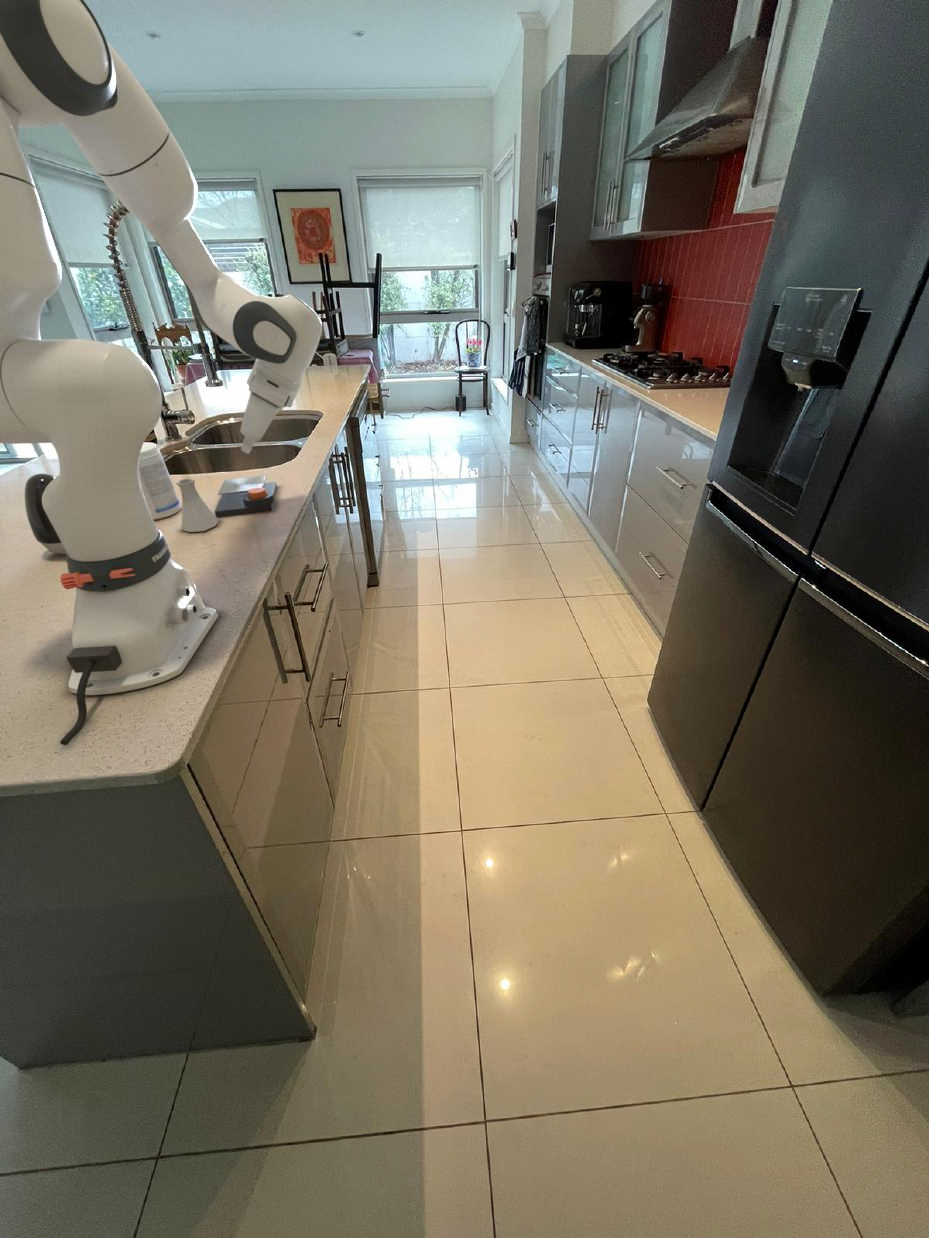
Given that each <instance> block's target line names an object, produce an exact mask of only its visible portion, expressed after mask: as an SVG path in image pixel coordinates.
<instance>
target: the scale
mask: <svg viewBox="0 0 929 1238" xmlns="http://www.w3.org/2000/svg"><path fill="white" fill-rule="evenodd" d="M263 488H264V489H265V491H266V495H267V496H265V497H263V498H259V499H250V496H249V492H244V493H235V494H226V495H220V498H219V501H218V502H217V505H216V508H215V509H214V515H215V516H216V517H217V518H224V517H233V516H240V515H248V514H257V513H266V512H267V513H268V512H273V509H274V503H275V501H276V500H275V499H276V495H277V489H278V485H277V482H276V481H270V482H264V485H263Z"/></svg>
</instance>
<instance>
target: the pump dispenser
mask: <svg viewBox="0 0 929 1238" xmlns="http://www.w3.org/2000/svg"><path fill="white" fill-rule="evenodd" d="M55 478H56V477H55V476H53V475H51V474H48V473H37V474H36V473H35V474H33V475H31V476H29V478H28V479H27V481H26V482H25V486H24V507H25V513H26V517H27V521H28V523H29V527H30V530H31V532H32V534H33V536H34V538H35V540H36V541H37V542H38V543H40V544H41V545H42V546H43V547H44V548H45V549H47V550H48V551H49V552H52V553H55V554H57V555H58V554H59V555H66V553H67V552H66V550H65V548H64V546H63V544H62V543H61V541H60V539H59V537H58V535H57V533H56V531H55V529H54V527H53V526H52V524H51V522H50V520H49V518H48V516H47V514H46V512H45V510H44V509H43V505H42V495H43V492H44V490H45V489H46V487H47V486H48V484H49V483H50V482H51V481H52V480H53V479H55Z"/></svg>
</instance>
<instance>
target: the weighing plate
mask: <svg viewBox="0 0 929 1238" xmlns="http://www.w3.org/2000/svg"><path fill="white" fill-rule="evenodd" d="M265 480H266V475H260V476H250V477H249V476H248V477H240V478H231V479H224V480H223V482H222V483H221V486H220V488H219V491H218V492H217V496H222V495H226V494H235V493H244V492H248V491H249V490H251V489H254V488H263V485H264V483H265Z"/></svg>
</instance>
